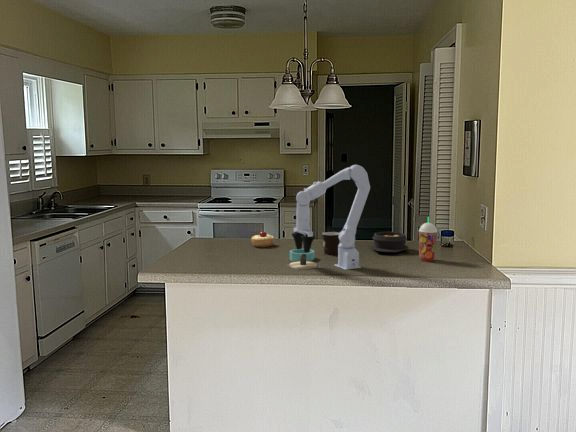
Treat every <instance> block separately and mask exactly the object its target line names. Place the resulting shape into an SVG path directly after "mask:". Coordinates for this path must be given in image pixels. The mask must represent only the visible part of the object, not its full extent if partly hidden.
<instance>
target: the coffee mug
mask: <svg viewBox="0 0 576 432" xmlns="http://www.w3.org/2000/svg"><path fill="white" fill-rule="evenodd" d="M339 233H340V232H337V231H331V232H330V231H327V232H322V234H321V236H322V244H323V254H325V255H328V256H338V245H339V244H340V240H339V237H338V236H339Z"/></svg>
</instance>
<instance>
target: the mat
mask: <svg viewBox="0 0 576 432" xmlns="http://www.w3.org/2000/svg"><path fill="white" fill-rule="evenodd" d="M289 264H290V263H289ZM289 264H288V263H287V264H285V266H286V267H288V268H291V267H289ZM322 268H323V267H322V266H320V265H317V267H316V268H313V269H312V270H314V269H322ZM291 269H292V270H295V271H306V270H308V269H294V268H291Z"/></svg>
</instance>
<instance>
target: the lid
mask: <svg viewBox="0 0 576 432" xmlns="http://www.w3.org/2000/svg"><path fill="white" fill-rule="evenodd" d="M317 266H318V264H317V263H316V262H314V261H306V254H300V261H298V262H296V261H292V262H289V267H288V268H290V267H291V269H292V268H294V269H307V270H314V269H313V268H315V269H317V268H316V267H317ZM294 269H293V270H294Z"/></svg>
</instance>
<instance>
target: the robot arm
mask: <svg viewBox="0 0 576 432" xmlns="http://www.w3.org/2000/svg"><path fill="white" fill-rule="evenodd" d="M368 175H369V174H368V172H367V171H366V169H365V168H364V167H363V166H361V165H359V164H352V165H351V166H349V167H345V168H344V169H342V170H339V171H338V172H337V173H335V174H334V175H332V176H330V177H329V178H327V179H326V180H324V181H314V182H312V185H310V186H308V187H307V188H306V187H304V188H303V190H300V191H298V192H297V194H296V197H295V200H296V216H295V221H296V222H295V223H296V224H295V225H296V226H294V227H293V233H291V236H292V238H293V240H294V244H295V247H296V249H304V252H305V253H306V252H310V249H311V248H312V244H313V242H314V240H315V237H316V236H314V232H313V231H312V230H311V228H310V227H311V226H310V224H311V223H310V222H311V221H310V220H311V218H310V214H311V210H310V202H311V201H314V200H316V199H318V198H319V197H321V196H323V195H325V194H326V191H327V189H329V188H331V187H332V186H334V185H336V184H338V183H339V182H341V181H345V180H348V181H349V180H353V182H354V183H355V186H356V187H357V190H356V194H355V196H354V199H353V202H352V205H351V207H350V211H349V214H348V216H347V219H346V221H345V224H344V225H343V228H342V229H341V231H339V232H338V233H339V236H338V237H339V245H338V254H337V263H335V264H334V267H335V266H336V267H338V268H340V269H342V270H344V271H345V270H351V269H352V270H353V269H361V266H360V252H359V251H358V250H357V248H356V244H355V243H356V234H357V227H358V224H359V221H360V219H361V216H362V213H363V210H364V207H365V205H366V201H367V199H368V196H369V193H370V190H371V185H370V181H369V180H370V179H369V176H368Z"/></svg>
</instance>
